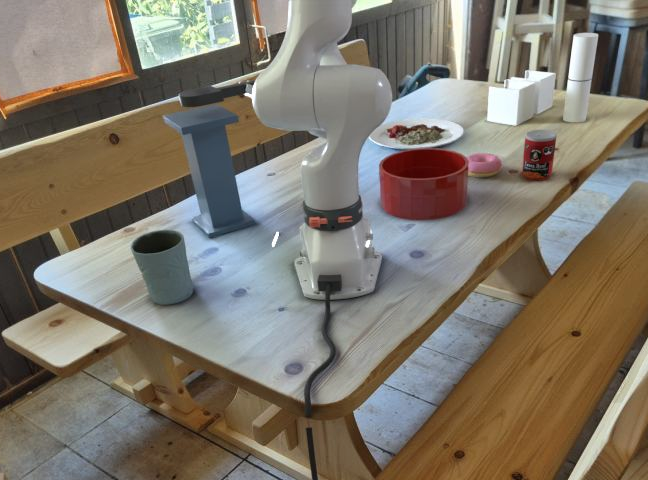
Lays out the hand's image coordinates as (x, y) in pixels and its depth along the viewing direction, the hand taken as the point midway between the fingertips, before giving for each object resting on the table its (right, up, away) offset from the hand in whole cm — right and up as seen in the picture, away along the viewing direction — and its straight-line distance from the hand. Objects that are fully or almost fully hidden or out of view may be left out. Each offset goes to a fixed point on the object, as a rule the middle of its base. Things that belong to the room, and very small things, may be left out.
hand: (242, 86), depth 135 cm
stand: (-8, -28, +13) cm, 32 cm away
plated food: (+44, +8, +57) cm, 72 cm away
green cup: (-12, -48, -13) cm, 52 cm away
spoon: (-5, -3, -2) cm, 6 cm away
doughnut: (+60, -11, +29) cm, 68 cm away
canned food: (+74, -13, +25) cm, 79 cm away
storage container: (+81, +21, +70) cm, 110 cm away
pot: (+43, -23, +15) cm, 51 cm away
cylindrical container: (+97, +16, +61) cm, 116 cm away
